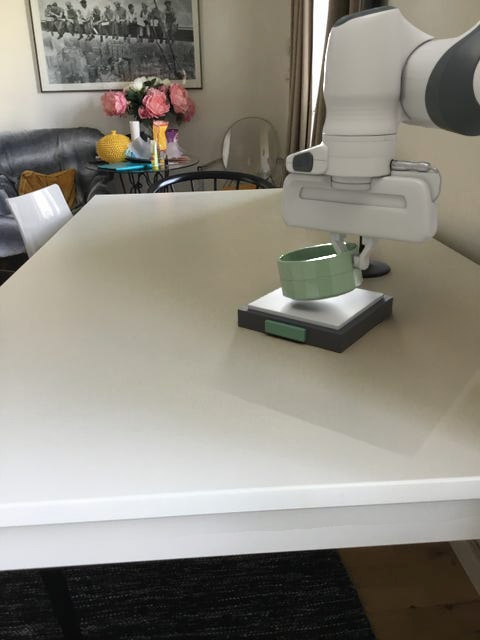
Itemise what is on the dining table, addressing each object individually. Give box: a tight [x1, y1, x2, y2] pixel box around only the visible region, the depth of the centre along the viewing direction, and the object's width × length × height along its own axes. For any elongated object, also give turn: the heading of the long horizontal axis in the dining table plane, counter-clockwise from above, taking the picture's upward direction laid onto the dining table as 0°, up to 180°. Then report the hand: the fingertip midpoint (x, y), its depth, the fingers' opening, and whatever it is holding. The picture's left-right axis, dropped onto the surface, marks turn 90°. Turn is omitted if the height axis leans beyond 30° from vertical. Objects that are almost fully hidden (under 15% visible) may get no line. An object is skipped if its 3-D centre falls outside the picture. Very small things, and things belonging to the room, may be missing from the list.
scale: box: [237, 286, 394, 354], centre depth 80 cm, size 16×17×3 cm
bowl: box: [276, 242, 364, 301], centre depth 78 cm, size 11×11×6 cm
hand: (352, 267), depth 74 cm, fingers closed on bowl
